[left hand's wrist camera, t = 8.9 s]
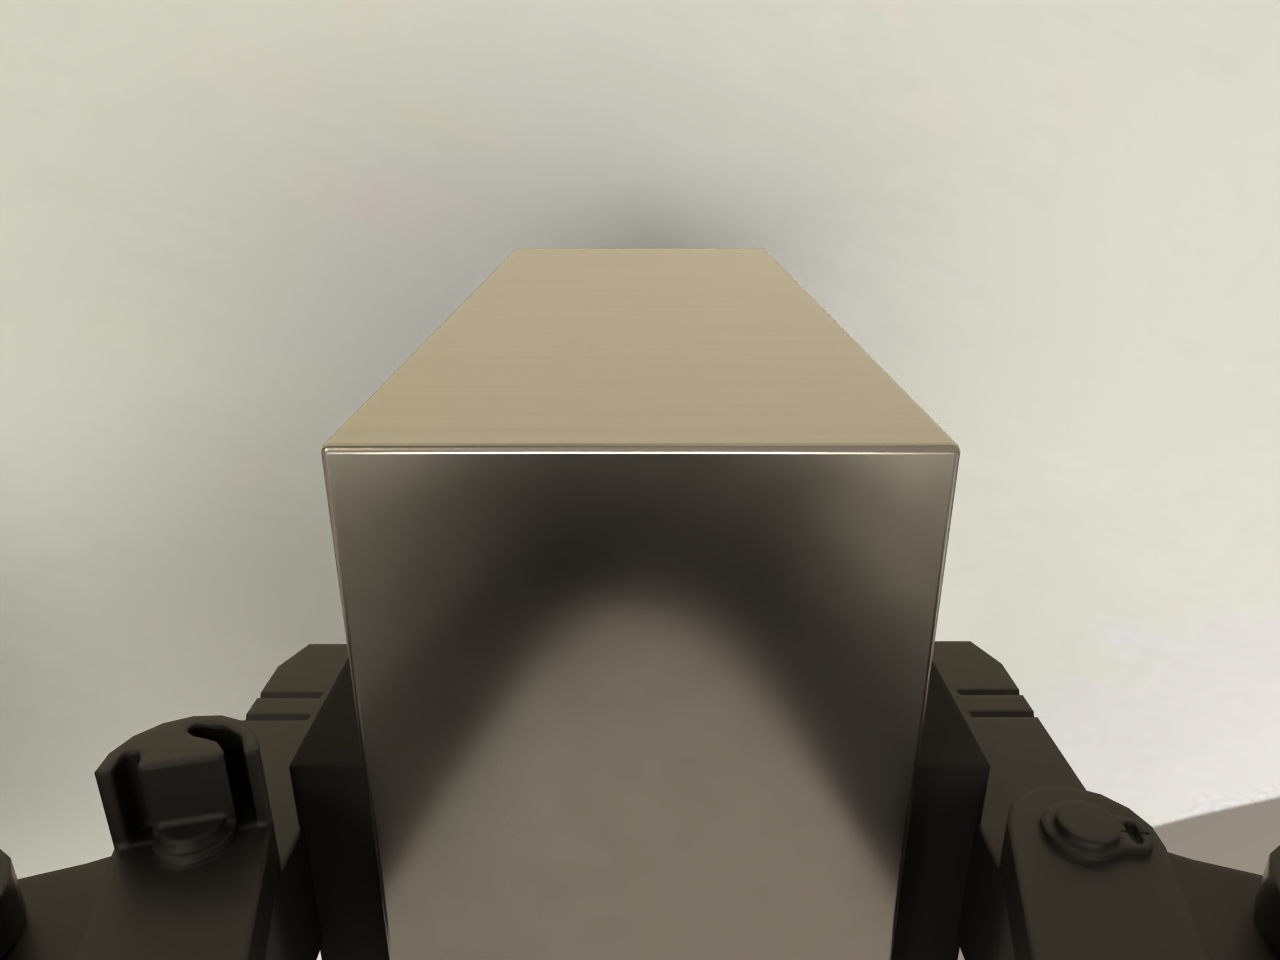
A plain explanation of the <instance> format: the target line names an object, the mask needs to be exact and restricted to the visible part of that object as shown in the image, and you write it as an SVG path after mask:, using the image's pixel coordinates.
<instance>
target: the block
mask: <svg viewBox="0 0 1280 960" xmlns="http://www.w3.org/2000/svg"><path fill="white" fill-rule="evenodd" d="M321 454H322V461H323V469H324V476H325V484H326V491H327V498H328V506H329V513H330V521H331V528H332V536H333V543H334V551H335V558H336V565H337V573H338V580H339V588H340V595H341V603H342V610H343V617H344V625H345V632H346V640H347V647H348V655H349V662H350V670H351V677H352V684H353V692H354V699H355V707H356V714H357V722H358V729H359V736H360V744H361V751H362V759H363V766H364V774H365V781H366V788H367V796H368V803H369V811H370V818H371V826H372V833H373V841H374V848H375V855H376V863H377V870H378V878H379V885H380V893H381V900H382V907H383V915H384V922H385V930H386V937H387V945H388V952H389V959H390V960H892V953H893V946H894V938H895V931H896V923H897V916H898V909H899V901H900V894H901V886H902V879H903V872H904V864H905V857H906V849H907V842H908V835H909V827H910V820H911V812H912V805H913V798H914V790H915V783H916V775H917V768H918V761H919V753H920V746H921V738H922V731H923V724H924V716H925V709H926V701H927V694H928V687H929V679H930V672H931V664H932V657H933V649H934V642H935V635H936V627H937V620H938V612H939V605H940V598H941V590H942V583H943V575H944V568H945V561H946V553H947V546H948V538H949V531H950V524H951V516H952V509H953V501H954V494H955V487H956V479H957V472H958V464H959V457H960V449H959V446H958V445H957V444H956V443H955V442H954V441H953V440H952V439H951V438H950V437H949V436H948V435H947V434H946V433H945V432H944V431H943V430H942V429H941V428H940V427H939V426H938V425H937V424H936V422H935V421H934V420H933V419H932V418H931V417H930V416H929V415H928V414H927V413H926V412H925V411H924V410H923V409H922V408H921V407H920V406H919V405H918V404H917V403H916V402H915V401H914V400H913V399H912V398H911V397H910V396H909V395H908V394H907V393H906V392H905V391H904V390H903V389H902V388H901V387H900V386H899V385H898V384H897V383H896V382H895V381H894V380H893V379H892V378H891V377H890V376H889V375H888V374H887V373H886V372H885V371H884V370H883V369H882V368H881V367H880V366H879V365H878V364H877V363H876V362H875V361H874V360H873V359H872V358H871V357H870V356H869V355H868V354H867V353H866V352H865V351H864V350H863V349H862V348H861V347H860V346H859V345H858V344H857V343H856V342H855V341H854V340H853V339H852V338H851V337H850V336H849V334H848V333H847V332H846V331H845V330H844V329H843V328H842V327H841V326H840V325H839V324H838V323H837V322H836V321H835V320H834V319H833V318H832V317H831V316H830V315H829V314H828V313H827V312H826V311H825V310H824V309H823V308H822V307H821V306H820V305H819V304H818V303H817V302H816V301H815V300H814V299H813V298H812V297H811V296H810V295H809V294H808V293H807V292H806V291H805V290H804V289H803V288H802V287H801V286H800V285H799V284H798V283H797V282H796V281H795V280H794V279H793V278H792V277H791V276H790V275H789V274H788V273H787V272H786V271H785V270H784V269H783V268H782V267H781V266H780V265H779V264H778V263H777V262H776V261H775V260H774V259H773V258H772V257H771V256H770V255H769V254H768V253H767V252H766V251H765V250H764V249H516V250H515V251H514V252H513V253H512V254H511V255H510V256H509V257H508V258H507V259H506V260H505V261H504V262H503V263H502V264H501V265H500V266H499V267H498V268H497V269H496V270H495V271H494V272H493V273H492V274H491V275H490V276H489V277H488V279H487V280H486V281H485V282H484V283H483V284H482V285H481V286H480V287H479V288H478V289H477V290H476V291H475V292H474V293H473V294H472V295H471V296H470V297H469V298H468V299H467V300H466V301H465V302H464V303H463V304H462V305H461V306H460V307H459V308H458V309H457V310H456V311H455V312H454V313H453V314H452V315H451V316H450V317H449V318H448V319H447V320H446V321H445V322H444V323H443V324H442V325H441V326H440V327H439V328H438V329H437V330H436V331H435V332H434V333H433V334H432V335H431V336H430V337H429V338H428V339H427V341H426V342H425V343H424V344H423V345H422V346H421V347H420V348H419V349H418V350H417V351H416V352H415V353H414V354H413V355H412V356H411V357H410V358H409V359H408V360H407V361H406V362H405V363H404V364H403V365H402V366H401V367H400V368H399V369H398V370H397V371H396V372H395V373H394V374H393V375H392V376H391V377H390V378H389V379H388V380H387V381H386V382H385V383H384V384H383V385H382V386H381V387H380V388H379V389H378V390H377V391H376V392H375V393H374V394H373V395H372V396H371V397H370V398H369V399H368V400H367V401H366V403H365V404H364V405H363V406H362V407H361V408H360V409H359V410H358V411H357V412H356V413H355V414H354V415H353V416H352V417H351V418H350V419H349V420H348V421H347V422H346V423H345V424H344V425H343V426H342V427H341V428H340V429H339V430H338V431H337V432H336V433H335V434H334V435H333V436H332V437H331V438H330V439H329V440H328V441H327V442H326V443H325V444H324V445H323V447H322V451H321Z"/></svg>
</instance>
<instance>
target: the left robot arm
mask: <svg viewBox="0 0 1280 960" xmlns="http://www.w3.org/2000/svg"><path fill="white" fill-rule="evenodd" d="M95 777H96V780H97V784H98V788H99V792H100V795H101V799H102V803H103V807H104V811H105V814H106V818H107V822H108V826H109V829H110V833H111V837H112V841H113V844H114V848H115V849H114V852H113V854H112V856H111V857H107V858H104V859H101V860H97V861H94V862H90V863H87V864H83V865H79V866H74V867H70V868H65V869H61V870H57V871H52V872H48V873H44V874H39V875H35V876H30V877H26V878H22V879H17V877H16V874H15V871H14V867H13V864H12V861H11V858H10V857H9V856H8V855H6V854H5V853H4V852H3V851H2V850H1V849H0V960H316V959H317V957H318V954H319V952H321V957H322V960H390V959H389V952H388V945H387V937H386V930H385V922H384V915H383V907H382V900H381V893H380V885H379V878H378V870H377V863H376V855H375V848H374V841H373V833H372V826H371V818H370V811H369V803H368V796H367V788H366V781H365V774H364V766H363V759H362V751H361V744H360V736H359V729H358V722H357V714H356V707H355V699H354V692H353V684H352V677H351V670H350V662H349V655H348V647H347V644H309V645H308V646H306V647H305V648H304V649H302V650H301V651H299V652H298V653H297V654H295V655H294V656H293V657H291V658H290V659H288V660H287V661H286V662H284V663H283V664H281V665H280V666H279V667H278V668H277V669H276V671H275V672H274V674H273V675H272V677H271V678H270V680H269V681H268V683H267V684H266V686H265V687H264V689H263V690H262V692H261V698H257V700H256V701H255V703H254V704H253V706H252V707H251V709H250V710H249V712H248V713H247V715H246V721H241V720H237V719H233V718H229V717H225V716H193V717H188V718H184V719H180V720H176V721H171V722H167V723H163V724H161V725H158V726H156V727H154V728H151V729H149V730H147V731H145V732H142V733H140V734H138V735H135V736H133V737H132V738H130V739H129V740H128V741H126V742H125V743H123V744H122V745H121V746H119V747H118V748H116V749H115V750H114V751H112V752H111V753H109V755H108V756H107V757H106V759H105V760H104V761H103V762H102V764H101V765H100V766H99V768H98V769H97V770H96V771H95ZM959 948H961V951H962V954H963V956H964V959H965V960H1280V846H1279V847H1277V848H1276V849H1275V850H1274V851H1273V852H1272V853H1271V854H1270V856H1269V859H1268V862H1267V865H1266V868H1265V871H1264V874H1263V876H1262V875H1258V874H1253V873H1249V872H1244V871H1240V870H1235V869H1231V868H1227V867H1222V866H1218V865H1214V864H1209V863H1205V862H1200V861H1196V860H1192V859H1188V858H1185V857H1182V856H1179V855H1175V854H1172V853H1169V852H1167V850H1166V848H1165V846H1164V844H1163V843H1162V842H1161V840H1160V838H1159V837H1158V835H1157V834H1156V832H1155V831H1154V829H1153V828H1152V827H1151V826H1150V825H1149V824H1148V823H1146V822H1145V821H1144V820H1143V819H1141V818H1140V817H1139V816H1138V815H1137V814H1135V813H1134V812H1133V811H1132V810H1130V809H1129V808H1127V807H1125V806H1123V805H1121V804H1119V803H1117V802H1115V801H1113V800H1111V799H1109V798H1107V797H1105V796H1103V795H1101V794H1097V793H1093V792H1090V791H1086V789H1085V788H1084V786H1083V785H1082V783H1081V782H1080V780H1079V779H1078V777H1077V776H1076V774H1075V773H1074V771H1073V770H1072V768H1071V767H1070V765H1069V764H1068V762H1067V761H1066V759H1065V758H1064V756H1063V755H1062V753H1061V752H1060V750H1059V749H1058V747H1057V746H1056V744H1055V743H1054V741H1053V740H1052V738H1051V737H1050V735H1049V734H1048V732H1047V731H1046V729H1045V728H1044V726H1043V725H1042V723H1041V722H1040V720H1039V719H1038V717H1034V712H1033V710H1032V709H1031V707H1030V706H1029V704H1028V703H1027V701H1026V700H1025V698H1024V697H1023V695H1019V689H1018V688H1017V686H1016V685H1015V683H1014V682H1013V680H1012V679H1011V677H1010V676H1009V674H1008V673H1007V671H1006V670H1005V668H1004V667H1003V665H1002V664H1001V663H1000V662H998V661H997V660H996V659H994V658H993V657H991V656H990V655H989V654H987V653H986V652H984V651H983V650H982V649H980V648H979V647H977V646H976V645H975V644H973V643H972V642H970V641H935V642H934V649H933V657H932V664H931V672H930V679H929V687H928V694H927V701H926V709H925V716H924V724H923V731H922V738H921V746H920V753H919V761H918V768H917V775H916V783H915V790H914V798H913V805H912V812H911V820H910V827H909V835H908V842H907V849H906V857H905V864H904V872H903V879H902V886H901V894H900V901H899V909H898V916H897V923H896V931H895V938H894V946H893V953H892V960H958V954H959Z"/></svg>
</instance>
